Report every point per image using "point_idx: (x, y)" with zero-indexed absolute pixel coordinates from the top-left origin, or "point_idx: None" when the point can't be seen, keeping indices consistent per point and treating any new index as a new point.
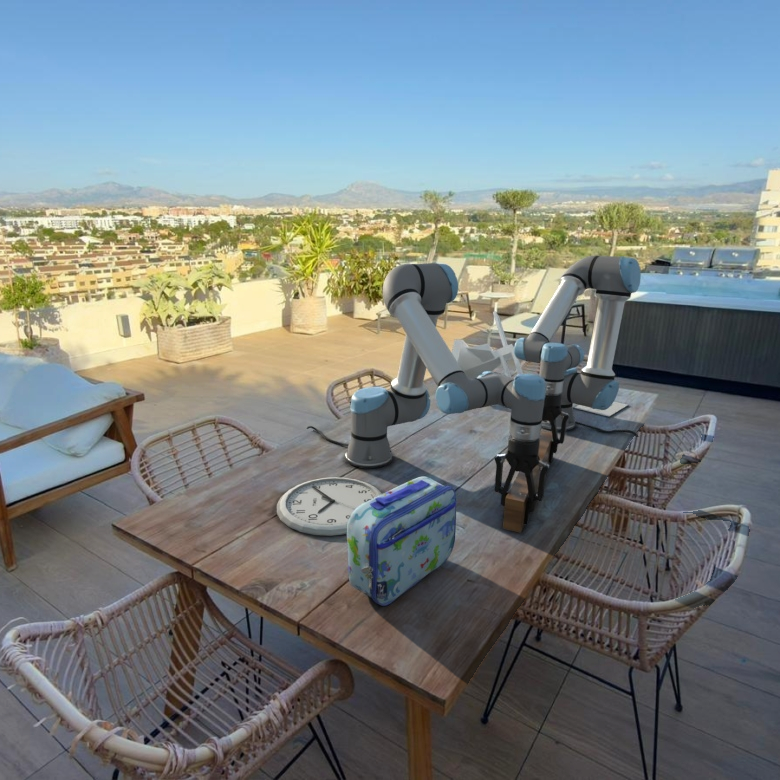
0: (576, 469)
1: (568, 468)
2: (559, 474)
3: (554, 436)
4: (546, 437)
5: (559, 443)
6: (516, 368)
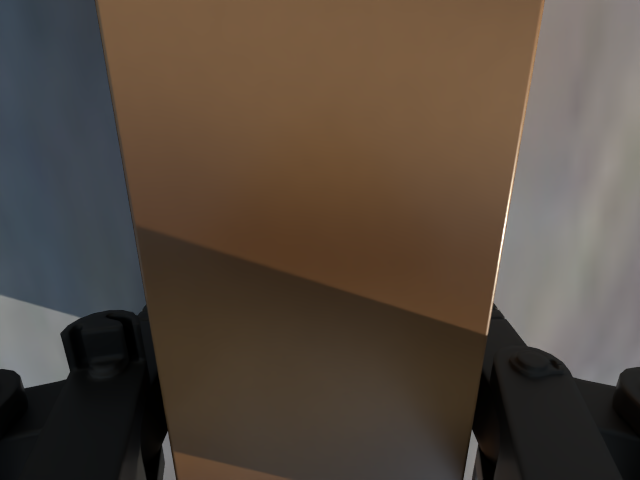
0: (2, 222)
1: (69, 211)
2: (96, 22)
3: (66, 474)
4: (278, 445)
5: (51, 383)
6: None
